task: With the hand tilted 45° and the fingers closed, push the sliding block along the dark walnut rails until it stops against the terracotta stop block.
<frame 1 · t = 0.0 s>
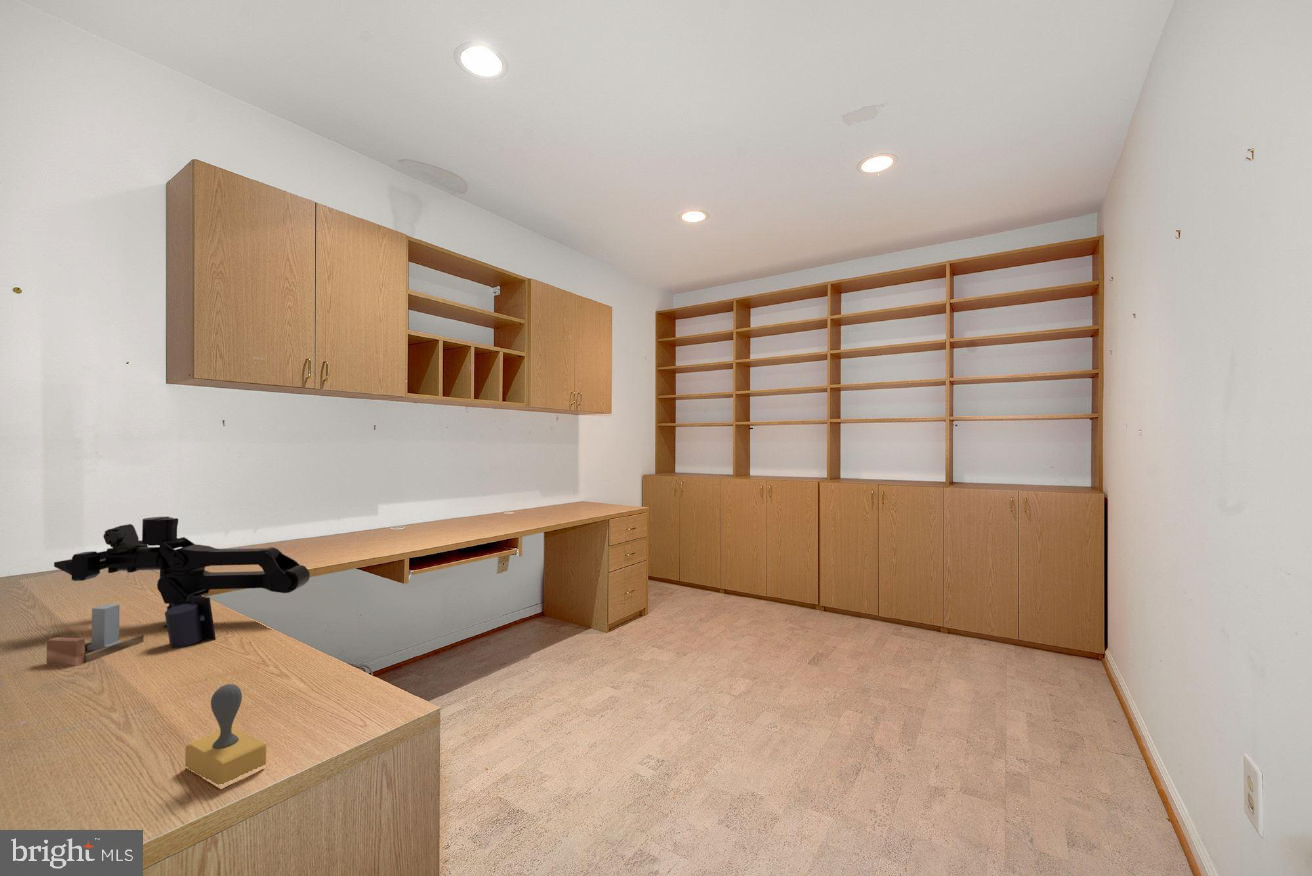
hand: (72, 560, 131), 17 cm above the table, tool horizontal, fingers open, 9 cm apart
sliding block: (105, 627, 117), point 5 cm above the table, slide at 0.0 cm
guide track: (92, 653, 115), on the table
rubber stamp: (225, 770, 76), on the table
speaker: (188, 644, 121), on the table
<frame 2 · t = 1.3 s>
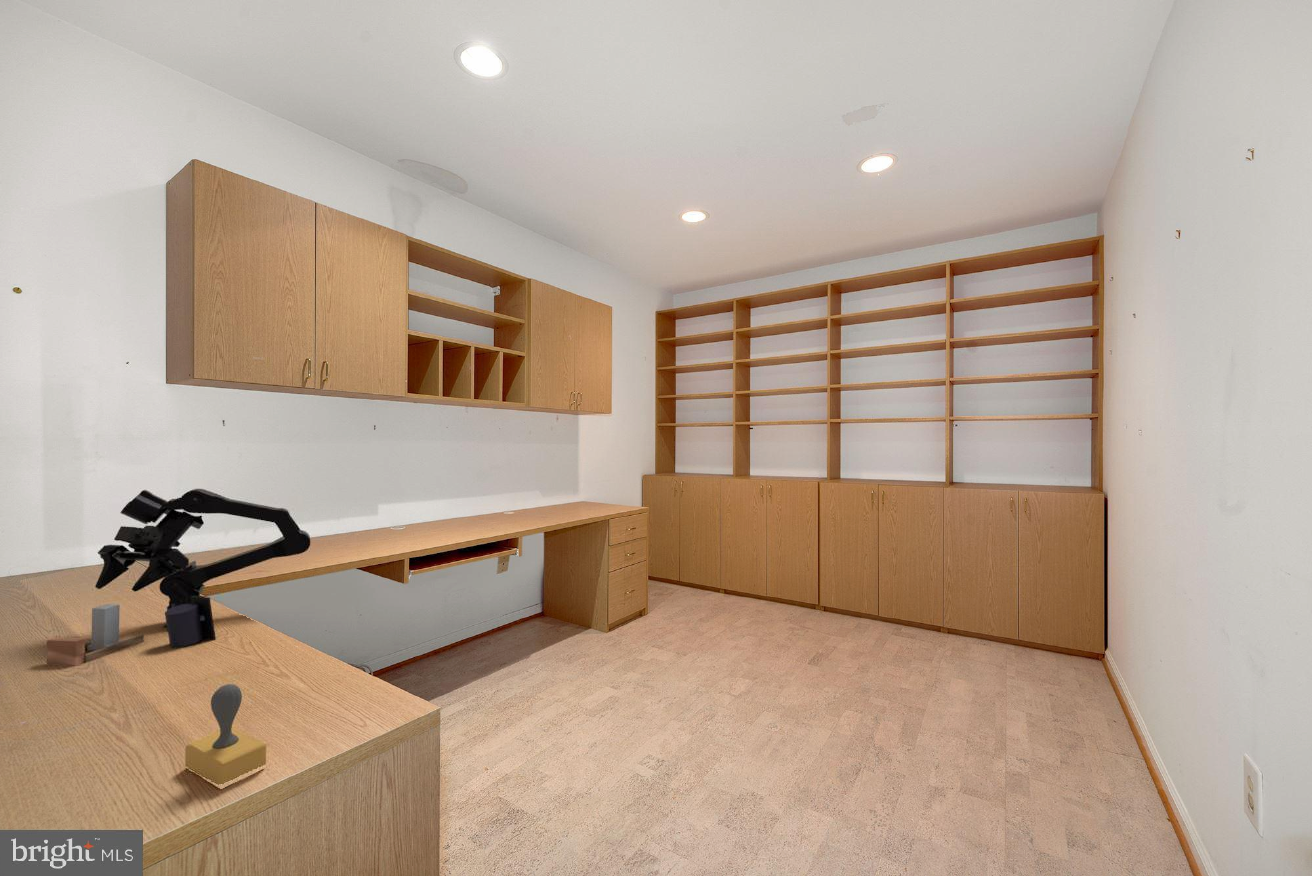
hand: (115, 589, 120), 13 cm above the table, tool tilted 45°, fingers open, 9 cm apart
nothing on the table moved.
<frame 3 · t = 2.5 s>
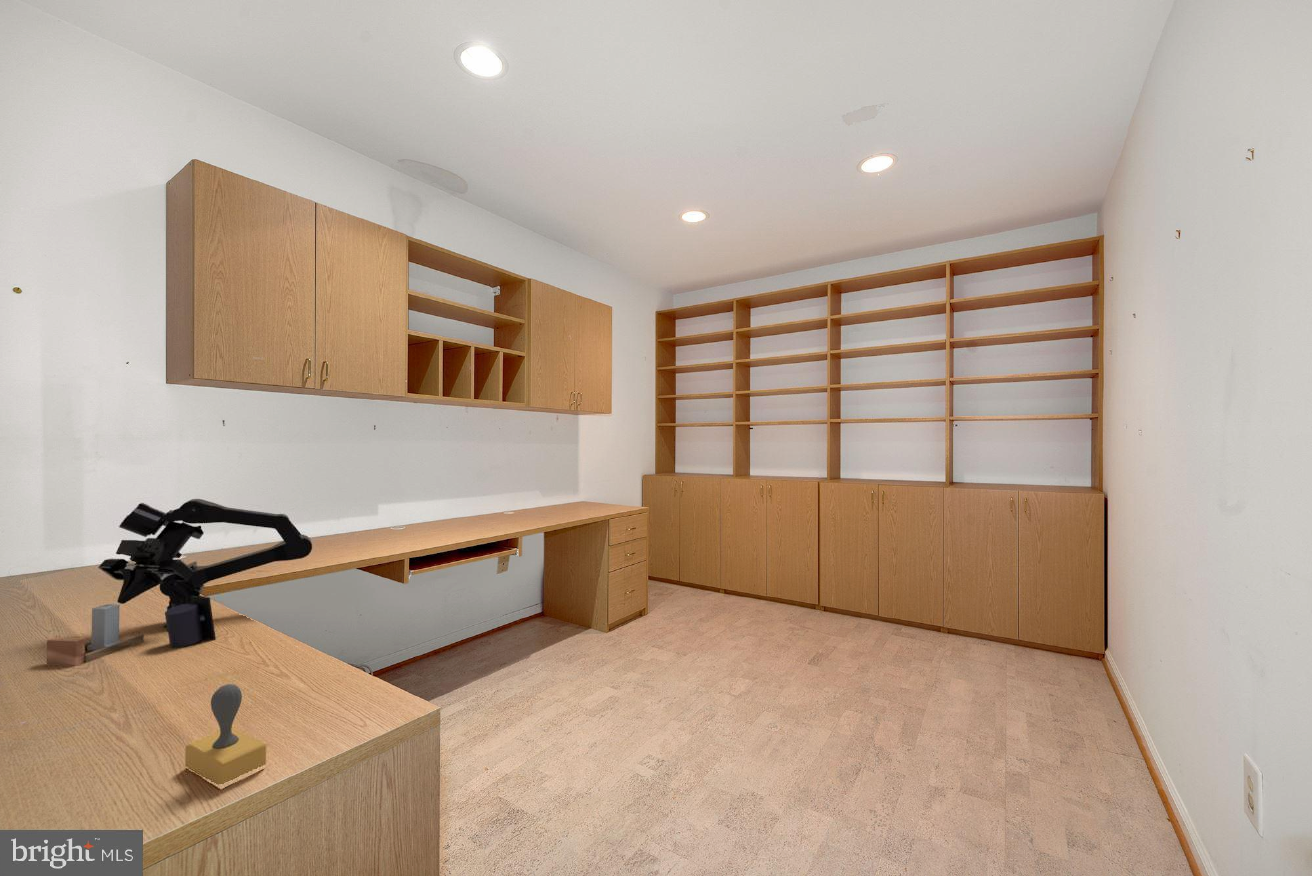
hand: (120, 602, 120), 9 cm above the table, tool tilted 45°, fingers closed
nothing on the table moved.
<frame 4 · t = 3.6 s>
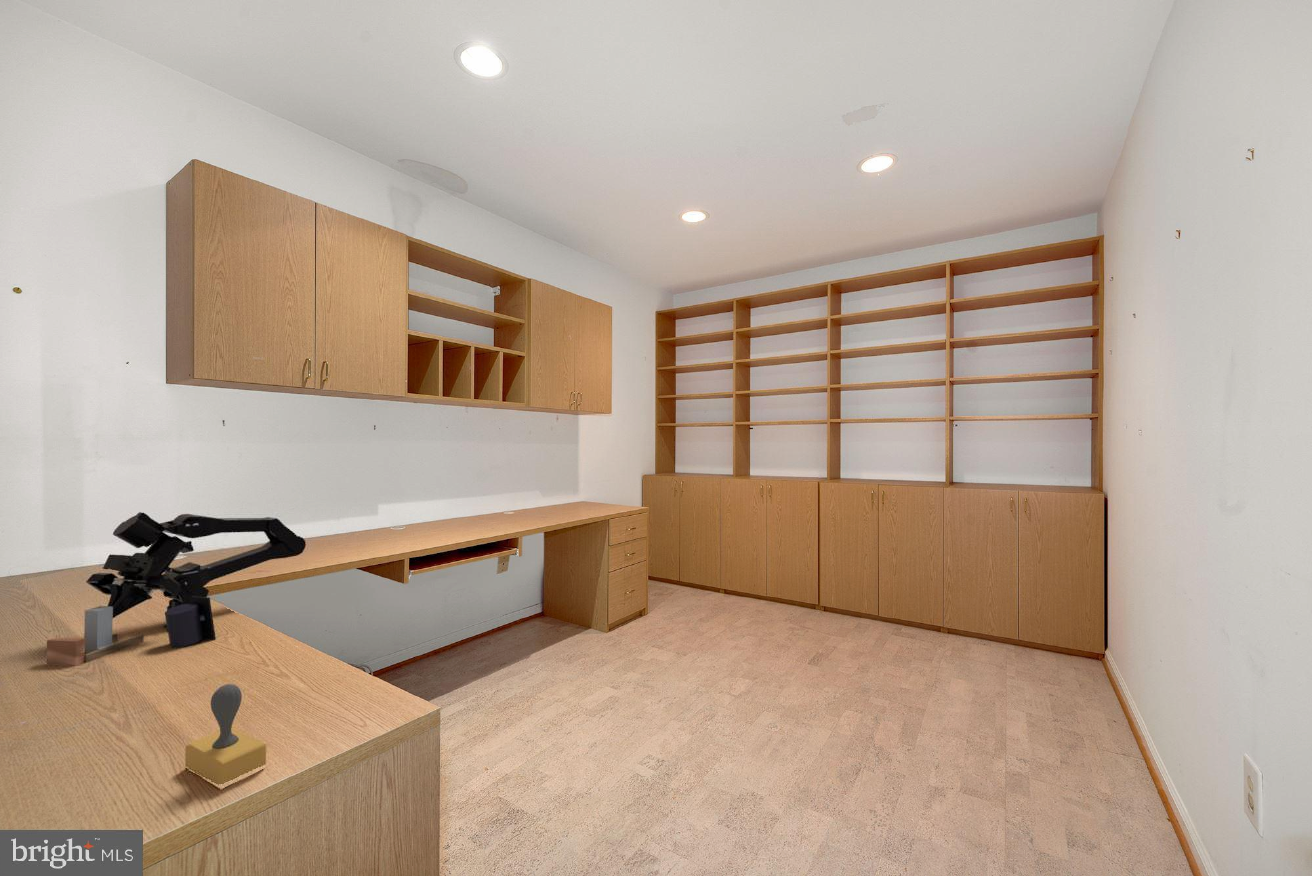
hand: (106, 619, 118), 7 cm above the table, tool tilted 45°, fingers closed
sliding block: (98, 629, 116), point 5 cm above the table, slide at 1.4 cm, touching gripper
everything else where it was.
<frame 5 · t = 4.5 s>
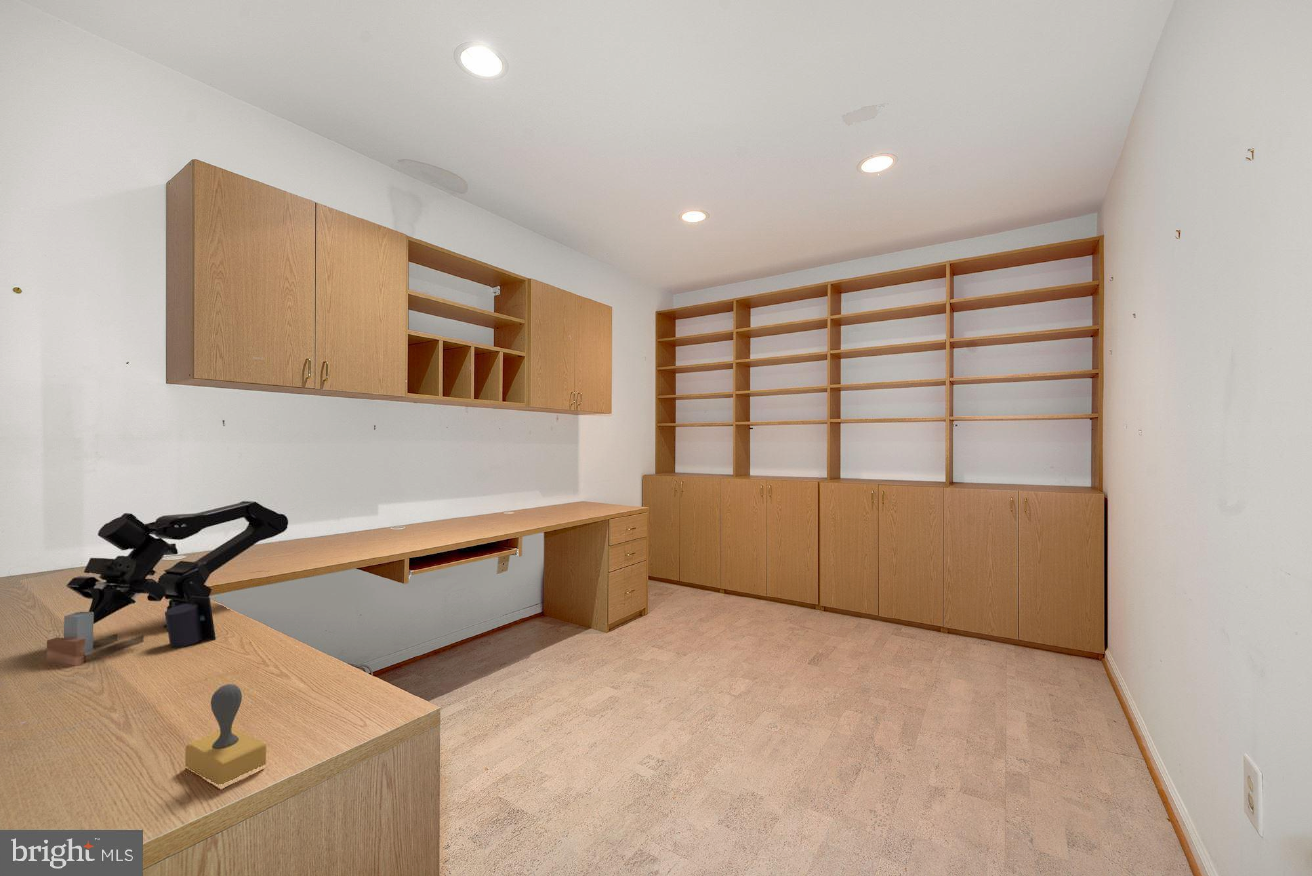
hand: (87, 624, 114), 7 cm above the table, tool tilted 45°, fingers closed, pressing on sliding block
sliding block: (78, 635, 112), point 5 cm above the table, slide at 5.2 cm, touching gripper, guide track
everything else where it was.
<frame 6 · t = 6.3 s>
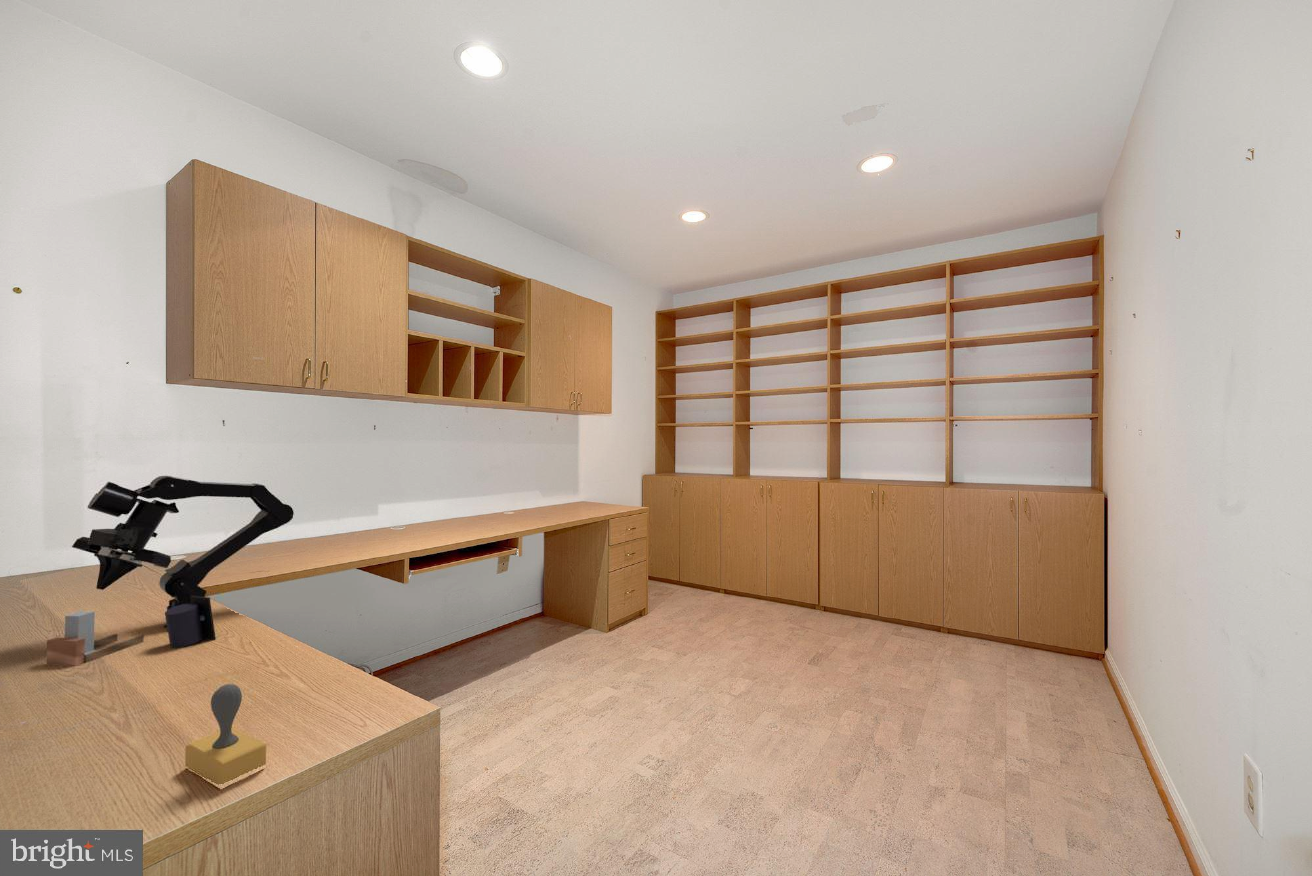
hand: (99, 589, 120), 12 cm above the table, tool tilted 30°, fingers closed
sliding block: (79, 635, 112), point 5 cm above the table, slide at 5.0 cm
everything else where it was.
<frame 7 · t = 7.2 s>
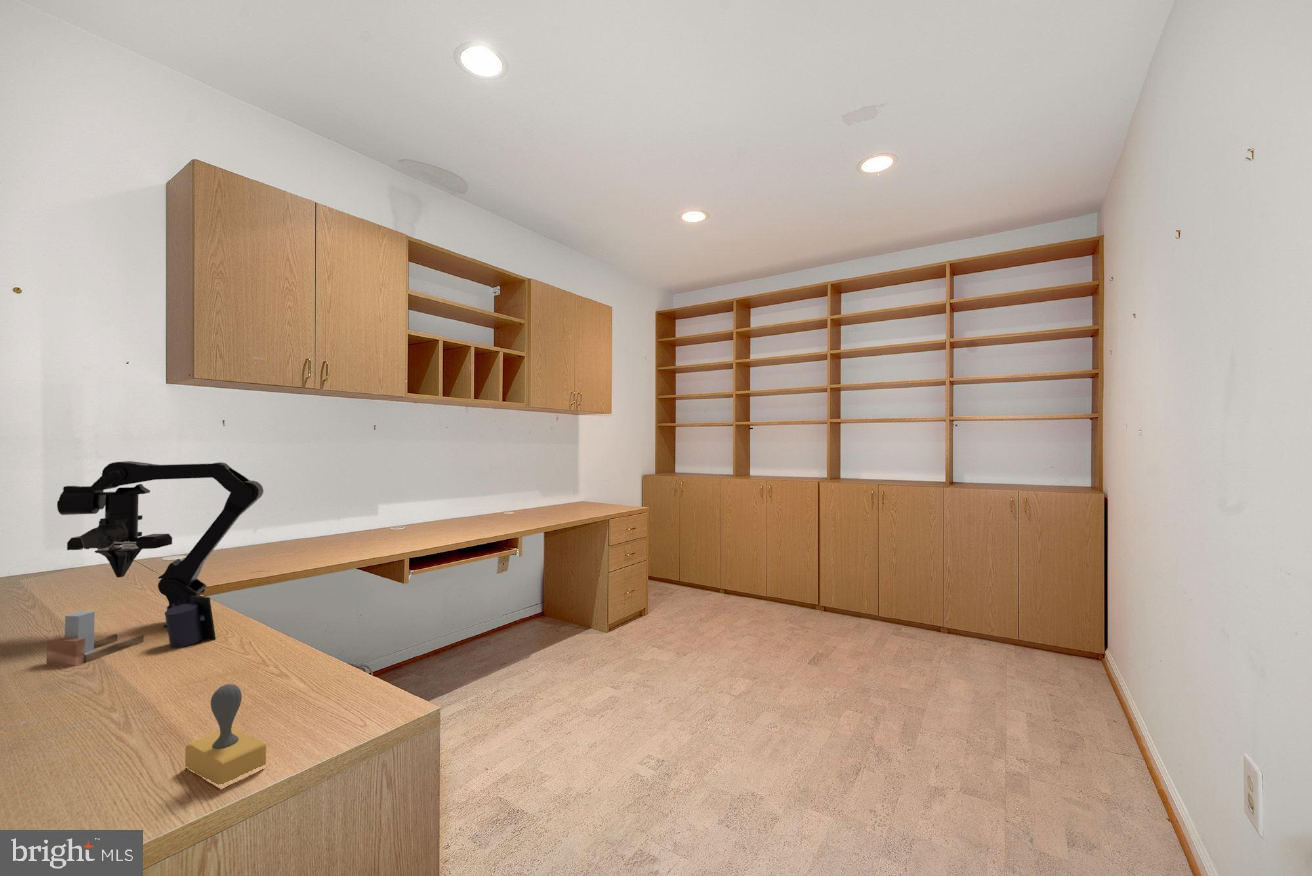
hand: (120, 577, 129), 13 cm above the table, tool pointing down, fingers closed
nothing on the table moved.
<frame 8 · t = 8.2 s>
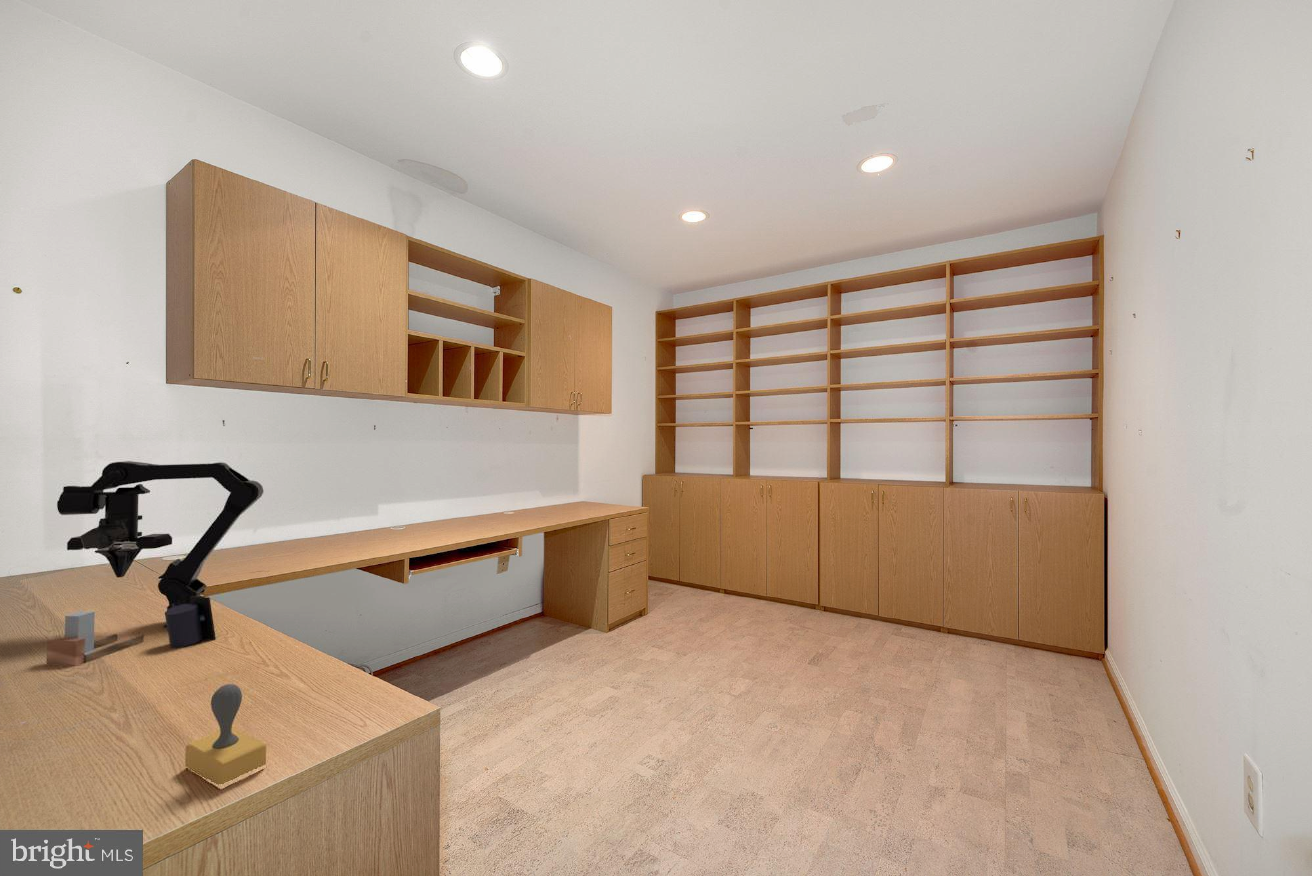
hand: (120, 577, 129), 13 cm above the table, tool pointing down, fingers closed
nothing on the table moved.
at the end: sliding block slide at 5.0 cm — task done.
